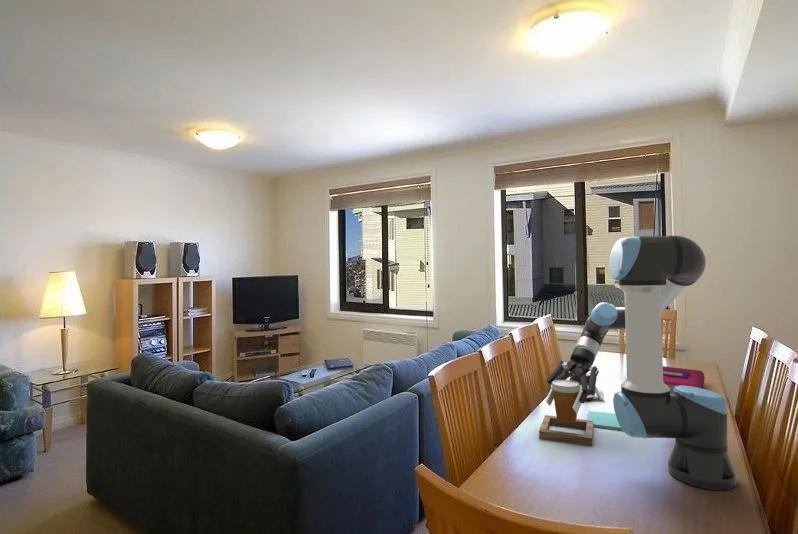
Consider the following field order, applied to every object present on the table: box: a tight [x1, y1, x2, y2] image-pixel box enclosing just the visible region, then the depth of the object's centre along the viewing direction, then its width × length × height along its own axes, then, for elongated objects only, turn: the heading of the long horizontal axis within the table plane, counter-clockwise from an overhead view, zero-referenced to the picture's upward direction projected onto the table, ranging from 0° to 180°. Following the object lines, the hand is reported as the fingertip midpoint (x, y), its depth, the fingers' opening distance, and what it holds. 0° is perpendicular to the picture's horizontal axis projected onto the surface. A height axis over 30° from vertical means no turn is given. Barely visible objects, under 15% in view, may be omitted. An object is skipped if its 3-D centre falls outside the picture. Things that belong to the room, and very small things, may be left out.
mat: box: [587, 410, 624, 432], centre depth 158 cm, size 14×14×1 cm
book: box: [663, 365, 706, 393], centre depth 196 cm, size 21×28×8 cm
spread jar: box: [569, 371, 605, 402], centre depth 185 cm, size 12×11×12 cm
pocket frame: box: [538, 414, 594, 447], centre depth 149 cm, size 16×16×2 cm
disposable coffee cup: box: [551, 379, 581, 422], centre depth 150 cm, size 10×10×12 cm
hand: (561, 406), depth 148 cm, fingers closed on disposable coffee cup, 9 cm apart
